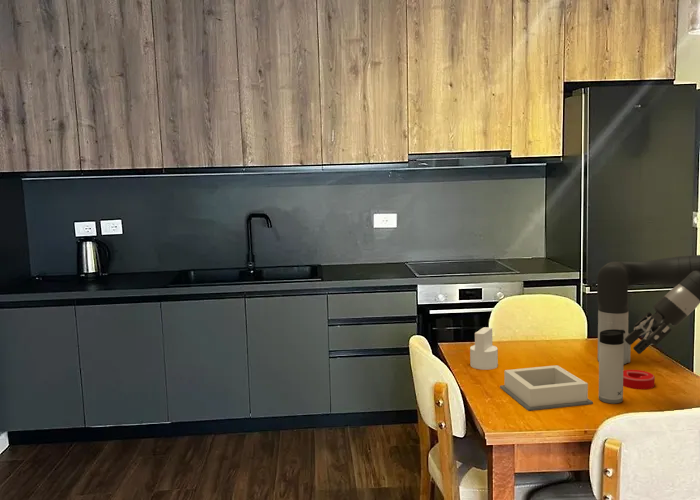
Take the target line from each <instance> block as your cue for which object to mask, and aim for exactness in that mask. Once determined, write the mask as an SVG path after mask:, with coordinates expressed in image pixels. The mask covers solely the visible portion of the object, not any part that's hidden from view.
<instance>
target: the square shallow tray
mask: <svg viewBox="0 0 700 500" xmlns="http://www.w3.org/2000/svg"><path fill="white" fill-rule="evenodd" d="M503 372H504V384H503V385H499V388H500V389H501V390H503V392H505V393H506V394H507V395H509V397H511V398H512V399H513V400H514V401H516V402H517V403H518V404H520V406H522V407H523V408H524V409H526V411H528V412H529V411H530V412H531V411H539V410H549V409H550V410H551V409H558V408H568V407H577V406H578V407H579V406H585V405H586V406H587V405H593V404H594V401H592V400H591V399H589V395H588V393H589V392H588V391H589V383H588V382H587V381H584V380H583V379H581V378H579V377H577V376H576V375H574V374H573V373H571V372H570V371H567V370H566V369H565V368H563V367H561V366H560V365H545V366H535V367H524V368H516V369H505V370H504V371H503Z"/></svg>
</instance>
